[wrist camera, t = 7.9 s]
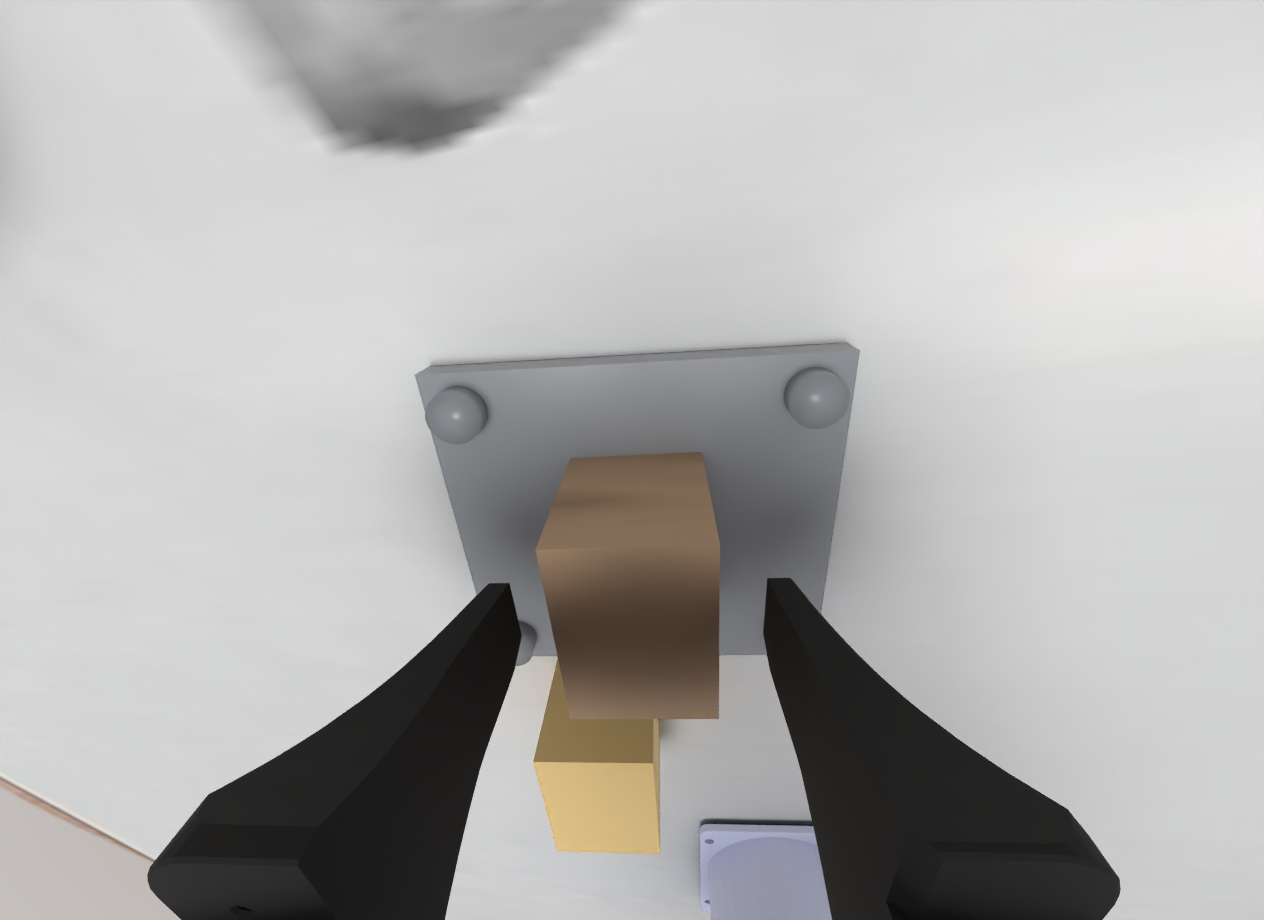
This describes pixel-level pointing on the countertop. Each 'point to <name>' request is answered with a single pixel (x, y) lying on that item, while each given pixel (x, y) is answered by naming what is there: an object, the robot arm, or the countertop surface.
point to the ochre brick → (599, 779)
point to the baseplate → (640, 425)
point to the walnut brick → (634, 587)
